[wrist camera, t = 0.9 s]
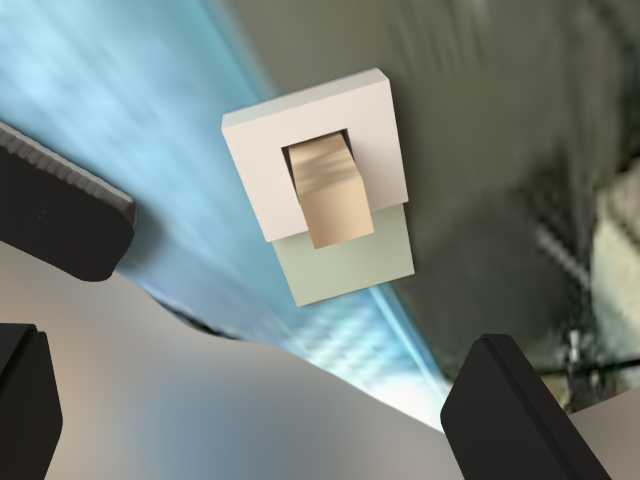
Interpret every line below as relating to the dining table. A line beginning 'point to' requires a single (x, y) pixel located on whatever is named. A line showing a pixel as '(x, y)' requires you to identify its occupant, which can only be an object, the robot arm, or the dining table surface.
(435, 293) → the dining table surface
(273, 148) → the socket block
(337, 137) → the plug
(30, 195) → the black sponge
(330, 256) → the mat
